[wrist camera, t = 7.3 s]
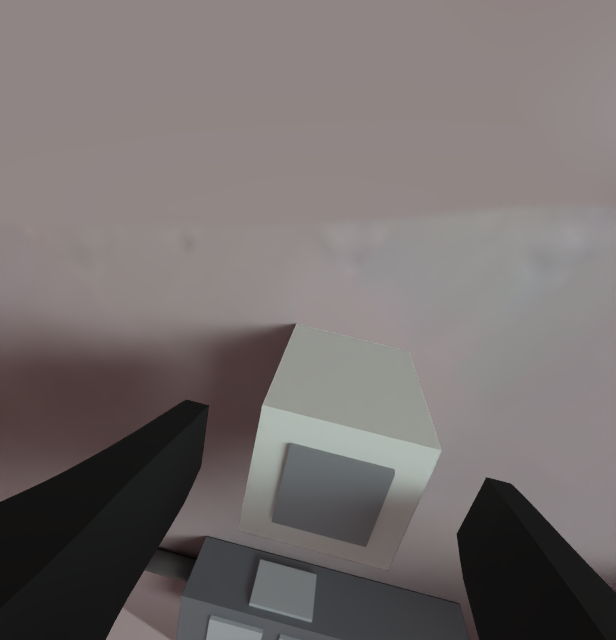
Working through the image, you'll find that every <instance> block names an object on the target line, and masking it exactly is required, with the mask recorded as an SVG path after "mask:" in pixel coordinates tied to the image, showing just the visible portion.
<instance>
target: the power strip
mask: <svg viewBox="0 0 616 640" xmlns="http://www.w3.org/2000/svg"><path fill="white" fill-rule="evenodd" d="M145 570H146V571H149V572H153V573H156V574H160V575H164V576H167V577H171V578H175V579H178V580H182V581H186V582H187V584H186V586H185V589H184V591H183V594H182V596H181V605H180V613H179V621H178V629H177V637H176V640H469V638H468V634H467V630H466V626H465V622H464V618H463V614H462V610H461V606H460V604H457V603H453V602H449V601H445V600H442V599H438V598H434V597H431V596H427V595H423V594H419V593H416V592H412V591H408V590H404V589H401V588H397V587H393V586H389V585H386V584H382V583H378V582H374V581H371V580H367V579H363V578H360V577H356V576H352V575H348V574H345V573H341V572H337V571H333V570H330V569H326V568H322V567H318V566H315V565H311V564H307V563H304V562H300V561H296V560H292V559H289V558H285V557H281V556H277V555H274V554H270V553H266V552H262V551H259V550H255V549H251V548H247V547H244V546H240V545H236V544H233V543H229V542H225V541H221V540H218V539H214V538H210V537H206V539H205V541H204V543H203V546H202V548H201V551H200V553H199V555H198V558H197V560H195V559H192V558H188V557H184V556H181V555H177V554H173V553H170V552H166V551H162V550H158V549H157V550H156V552H155V553H154V555H153V557H152V558H151V560H150V562H149V563H148V565H147V567H146V568H145Z"/></svg>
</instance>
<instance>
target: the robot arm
mask: <svg viewBox="0 0 616 640" xmlns="http://www.w3.org/2000/svg"><path fill="white" fill-rule="evenodd" d="M208 409H209V405H205V404H201V403H197V402H193V401H190V400H185V401H183V402H181V403H180V404H178V405H177V406H175V407H173V408H172V409H170V410H169V411H167V412H165V413H164V414H162V415H161V416H159V417H158V418H156V419H154V420H153V421H151V422H150V423H148V424H147V425H145V426H143V427H142V428H140V429H139V430H137V431H135V432H134V433H132V434H130V435H129V436H127V437H125V438H124V439H122V440H120V441H119V442H117V443H115V444H114V445H112V446H110V447H108V448H107V449H105V450H103V451H101V452H99V453H98V454H96V455H94V456H92V457H90V458H88V459H87V460H85V461H83V462H81V463H79V464H77V465H76V466H74V467H72V468H70V469H68V470H66V471H64V472H63V473H61V474H59V475H57V476H55V477H53V478H51V479H49V480H47V481H45V482H43V483H41V484H38V485H36V486H34V487H32V488H30V489H28V490H26V491H23V492H21V493H19V494H17V495H15V496H12V497H10V498H8V499H6V500H4V501H1V502H0V640H106V638H107V636H108V634H109V632H110V630H111V628H112V626H113V624H114V622H115V620H116V618H117V616H118V615H119V613H120V611H121V609H122V607H123V606H124V604H125V602H126V600H127V598H128V597H129V595H130V593H131V592H132V590H133V588H134V587H135V585H136V583H137V582H138V580H139V578H140V577H141V575H142V573H143V572H144V570H145V568H146V567H147V565H148V563H149V562H150V560H151V558H152V557H153V555H154V553H155V552H156V550H157V548H158V547H159V545H160V543H161V542H162V540H163V538H164V537H165V535H166V533H167V532H168V530H169V528H170V526H171V525H172V523H173V521H174V520H175V518H176V516H177V515H178V513H179V511H180V509H181V508H182V506H183V504H184V502H185V500H186V498H187V496H188V494H189V492H190V490H191V487H192V485H193V483H194V481H195V479H196V476H197V474H198V472H199V470H200V467H201V463H202V455H203V448H204V440H205V432H206V424H207V417H208ZM457 540H458V547H459V555H460V562H461V568H462V574H463V580H464V584H465V588H466V592H467V595H468V599H469V603H470V607H471V610H472V614H473V618H474V622H475V625H476V629H477V633H478V636H479V640H616V593H615V592H614V591H613V590H612V589H611V588H610V587H609V586H608V585H607V584H606V583H605V581H604V580H603V579H602V578H601V577H600V576H599V575H598V574H597V573H596V572H595V571H594V570H593V569H592V568H591V567H590V566H589V565H588V564H587V563H586V562H585V561H584V560H583V558H582V557H581V556H580V555H579V554H578V553H577V552H576V551H575V550H574V549H573V548H572V547H571V546H570V545H569V544H568V543H567V541H566V540H565V539H564V538H563V537H562V536H561V535H560V534H559V533H558V532H557V531H556V530H555V529H554V528H553V526H552V525H551V524H550V523H549V522H548V521H547V520H546V519H545V518H544V517H543V516H542V515H541V514H540V513H539V512H538V510H537V509H536V508H535V507H534V506H533V505H532V504H531V503H530V502H529V501H528V500H527V499H526V498H525V497H524V496H523V495H522V494H521V493H520V492H519V491H518V490H517V489H516V488H515V487H514V486H513V485H512V484H510V483H507V482H503V481H499V480H495V479H491V478H487V477H486V479H485V481H484V483H483V485H482V487H481V489H480V491H479V493H478V494H477V496H476V498H475V500H474V502H473V504H472V506H471V508H470V510H469V512H468V514H467V515H466V517H465V519H464V521H463V523H462V525H461V527H460V529H459V531H458V533H457Z"/></svg>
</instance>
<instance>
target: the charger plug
mask: <svg viewBox="0 0 616 640" xmlns="http://www.w3.org/2000/svg"><path fill="white" fill-rule="evenodd" d="M441 451H442V449H441V446H440V443H439V440H438V437H437V434H436V431H435V428H434V425H433V422H432V419H431V416H430V413H429V410H428V407H427V403H426V400H425V397H424V394H423V391H422V388H421V385H420V382H419V379H418V376H417V373H416V370H415V367H414V364H413V361H412V358H411V354H410V351H407V350H403V349H399V348H395V347H391V346H387V345H383V344H379V343H375V342H371V341H366V340H362V339H358V338H354V337H350V336H346V335H342V334H338V333H334V332H330V331H326V330H321V329H317V328H313V327H309V326H305V325H301V324H297V323H296V325H295V328H294V330H293V332H292V335H291V337H290V340H289V342H288V345H287V347H286V349H285V352H284V354H283V357H282V359H281V361H280V364H279V366H278V369H277V371H276V373H275V376H274V378H273V381H272V383H271V385H270V388H269V390H268V393H267V395H266V397H265V400H264V402H263V405H262V409H261V415H260V420H259V425H258V430H257V435H256V440H255V445H254V450H253V455H252V460H251V466H250V471H249V476H248V481H247V486H246V491H245V496H244V501H243V506H242V511H241V516H240V522H239V527H238V531H241V532H245V533H248V534H252V535H256V536H260V537H263V538H267V539H271V540H275V541H278V542H282V543H286V544H290V545H293V546H297V547H301V548H305V549H308V550H312V551H316V552H319V553H323V554H327V555H331V556H334V557H338V558H342V559H346V560H349V561H353V562H357V563H361V564H364V565H368V566H372V567H376V568H379V569H383V570H387V571H388V570H389V568H390V565H391V563H392V561H393V559H394V556H395V554H396V552H397V550H398V547H399V545H400V543H401V541H402V539H403V536H404V534H405V532H406V530H407V527H408V525H409V523H410V521H411V518H412V516H413V514H414V512H415V509H416V507H417V505H418V503H419V501H420V498H421V496H422V494H423V492H424V489H425V487H426V485H427V483H428V480H429V478H430V476H431V474H432V471H433V469H434V467H435V465H436V463H437V460H438V458H439V456H440V454H441Z"/></svg>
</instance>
